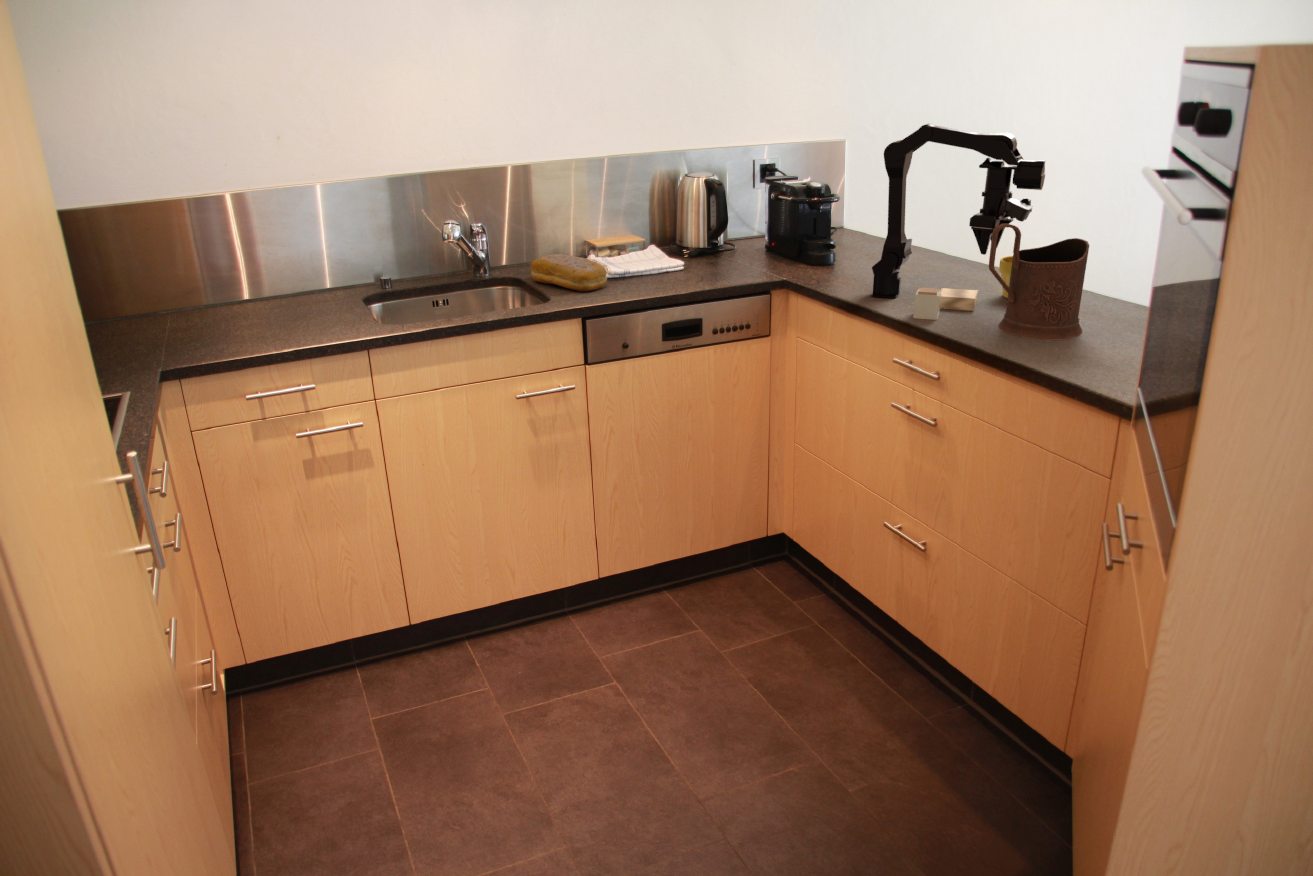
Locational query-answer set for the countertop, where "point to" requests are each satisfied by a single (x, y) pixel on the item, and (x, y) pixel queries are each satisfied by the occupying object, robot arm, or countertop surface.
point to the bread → (569, 272)
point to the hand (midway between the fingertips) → (989, 251)
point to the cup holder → (1043, 288)
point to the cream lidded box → (927, 303)
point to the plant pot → (1005, 271)
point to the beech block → (958, 299)
